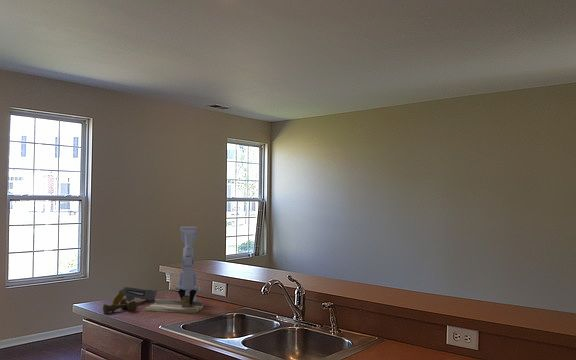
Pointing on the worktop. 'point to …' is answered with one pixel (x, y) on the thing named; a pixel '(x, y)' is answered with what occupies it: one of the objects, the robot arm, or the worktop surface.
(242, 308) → the worktop surface
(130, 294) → the gun
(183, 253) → the robot arm
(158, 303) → the board
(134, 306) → the kendama
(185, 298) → the brown handled block
